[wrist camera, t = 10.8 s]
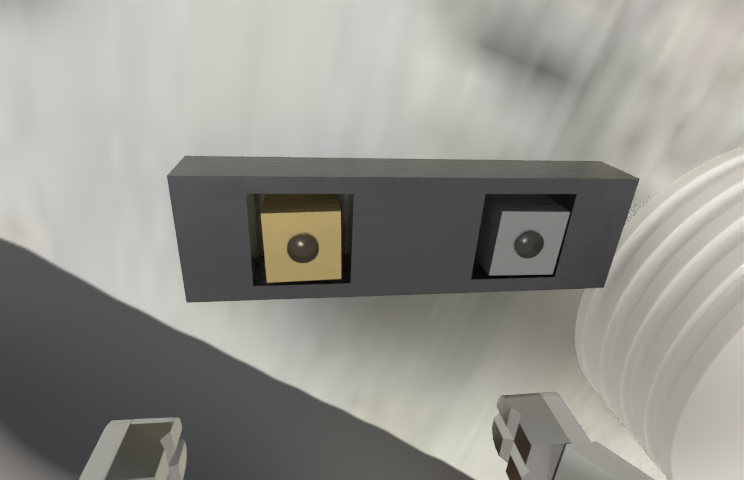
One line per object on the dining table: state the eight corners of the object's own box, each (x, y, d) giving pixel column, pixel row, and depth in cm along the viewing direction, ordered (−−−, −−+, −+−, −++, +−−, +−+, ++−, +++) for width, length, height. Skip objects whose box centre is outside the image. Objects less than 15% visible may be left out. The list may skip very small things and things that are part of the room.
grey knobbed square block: (531, 185, 31) (571, 213, 27) (518, 241, 33) (554, 275, 28) (473, 184, 30) (503, 212, 26) (463, 241, 32) (490, 277, 28)
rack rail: (600, 161, 31) (639, 179, 27) (572, 260, 34) (603, 287, 31) (185, 156, 27) (167, 175, 23) (200, 270, 30) (186, 302, 27)
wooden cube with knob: (334, 183, 29) (341, 212, 24) (335, 242, 31) (341, 280, 26) (267, 184, 28) (260, 214, 24) (271, 245, 30) (266, 284, 26)
